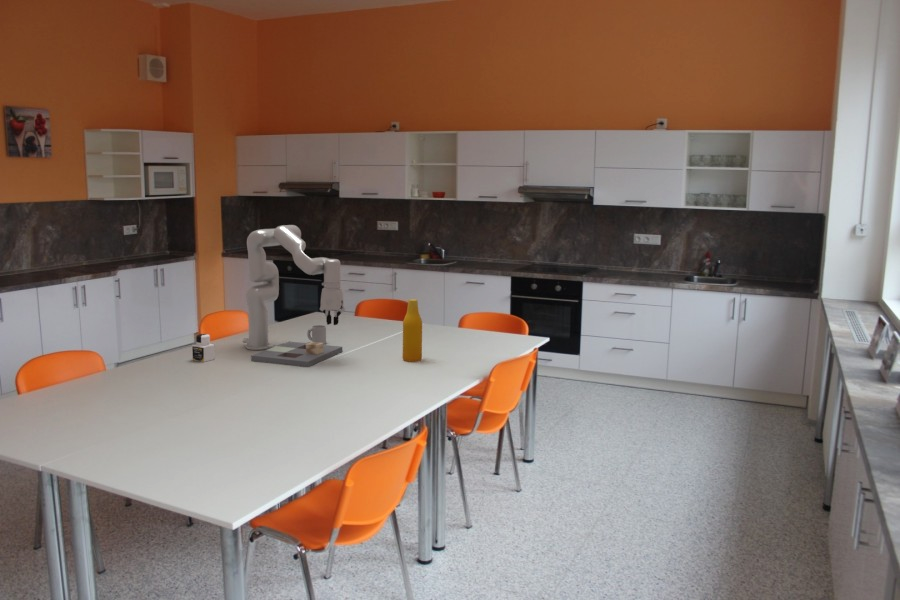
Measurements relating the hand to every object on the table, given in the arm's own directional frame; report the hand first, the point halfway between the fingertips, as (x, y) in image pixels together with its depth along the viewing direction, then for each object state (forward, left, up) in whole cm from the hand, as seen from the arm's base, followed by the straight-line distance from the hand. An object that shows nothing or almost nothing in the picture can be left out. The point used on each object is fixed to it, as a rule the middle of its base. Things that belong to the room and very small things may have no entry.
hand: (332, 324), depth 361 cm
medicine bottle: (-54, -24, -17) cm, 62 cm away
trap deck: (-18, 0, -17) cm, 25 cm away
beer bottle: (+34, +15, -17) cm, 41 cm away
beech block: (-10, 0, -15) cm, 17 cm away
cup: (-24, +29, -17) cm, 42 cm away
